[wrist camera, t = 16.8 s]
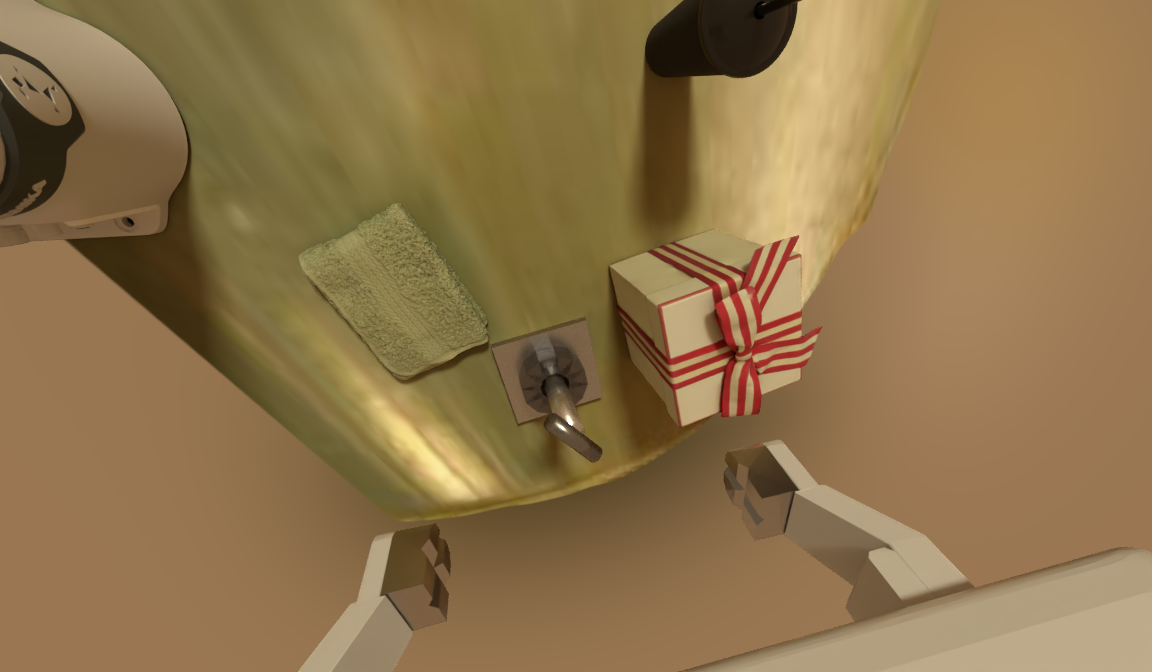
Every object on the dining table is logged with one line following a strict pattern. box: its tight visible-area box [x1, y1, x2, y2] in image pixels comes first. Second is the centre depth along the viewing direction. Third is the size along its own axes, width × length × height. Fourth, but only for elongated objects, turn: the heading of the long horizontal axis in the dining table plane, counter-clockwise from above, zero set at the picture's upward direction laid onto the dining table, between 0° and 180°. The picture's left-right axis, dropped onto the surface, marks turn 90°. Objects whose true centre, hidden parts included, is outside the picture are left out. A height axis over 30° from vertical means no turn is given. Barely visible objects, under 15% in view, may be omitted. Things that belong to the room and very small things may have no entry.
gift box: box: [609, 229, 822, 428], centre depth 46 cm, size 17×18×17 cm
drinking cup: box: [646, 0, 801, 78], centre depth 33 cm, size 8×8×20 cm
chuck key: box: [542, 373, 602, 462], centre depth 47 cm, size 7×3×14 cm, turn 42°
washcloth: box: [299, 203, 489, 380], centre depth 45 cm, size 13×18×3 cm
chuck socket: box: [491, 317, 603, 424], centre depth 52 cm, size 12×12×4 cm
